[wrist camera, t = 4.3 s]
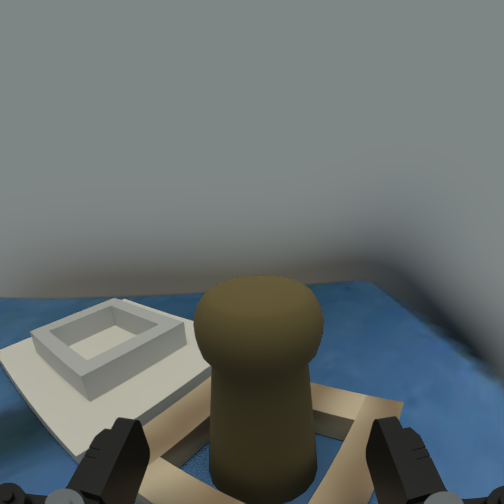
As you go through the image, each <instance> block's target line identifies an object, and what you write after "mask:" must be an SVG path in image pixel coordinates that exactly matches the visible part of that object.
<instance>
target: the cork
mask: <svg viewBox="0 0 504 504" xmlns="http://www.w3.org/2000/svg"><path fill="white" fill-rule="evenodd" d="M323 325H324V319H323V314H322V309H321V306H320V304H319V302H318V300H317V298H316V297H315V295H314V293H313V292H312V290H311V289H309V288H308V287H306V286H305V285H303V284H301V283H300V282H298V281H295V280H292V279H289V278H284V277H279V276H267V275H260V276H259V275H258V276H245V277H237V278H234V279H229V280H226V281H224V282H222V283H219V284H217V285H215V286H213V287H212V288H211V289H209V290H208V291H207V292H205V293H204V294H203V296H202V298H201V300H200V302H199V304H198V306H197V308H196V311H195V316H194V323H193V326H194V333H195V339H196V342H197V345H198V348H199V350H200V352H201V355H202V357H203V359H204V360H205V361H206V362H207V363H208V364H209V365H210V366H211V367H212V370H211V401H210V447H209V472H210V475H211V479H212V482H213V484H214V485H215V486H216V487H217V489H218V490H219V491H220V492H222V493H224V494H226V495H228V496H230V497H232V498H234V499H237V500H239V501H241V502H243V503H245V504H283V503H286V502H289V501H292V500H293V499H295V498H296V497H298V496H300V495H301V494H303V493H304V492H305V491H306V490H307V489H308V488H309V486H310V485H311V484H312V482H313V481H314V479H315V475H316V471H317V456H316V443H315V430H314V418H313V406H312V396H311V385H310V375H309V365H308V363H309V362H310V361H311V360H312V359H313V358H314V357H315V356H316V353H317V351H318V348H319V345H320V342H321V338H322V335H323Z"/></svg>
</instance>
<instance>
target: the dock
mask: <svg viewBox="0 0 504 504" xmlns="http://www.w3.org/2000/svg"><path fill="white" fill-rule="evenodd" d="M193 323H194V321H190V320H187V319H184V318H181V317H177V316H174V315H171V314H168V313H165V312H162V311H159V310H156V309H153V308H150V307H147V306H144V305H141V304H138V303H135V302H132V301H129V300H126V299H123V300H119V299H116V298H113V299H111V300H108V301H105V302H103V303H100V304H98V305H95V306H93V307H90V308H88V309H85V310H83V311H80V312H78V313H75V314H73V315H70V316H68V317H65V318H63V319H60V320H58V321H55V322H53V323H50V324H47V325H45V326H42V327H40V328H37V329H35V330H32V331H30V334H31V337H30V338H28V339H25V340H23V341H20V342H18V343H16V344H13V345H11V346H8V347H6V348H3V349H1V350H0V364H1V366H2V368H3V369H4V371H5V372H6V374H7V375H8V377H9V378H10V380H11V381H12V383H13V384H14V386H15V387H16V389H17V390H18V392H19V393H20V394H21V396H22V397H23V399H24V400H25V401H26V403H27V404H28V405H29V407H30V408H31V409H32V411H33V412H34V413H35V415H36V416H37V417H38V419H39V420H40V421H41V422H42V424H43V425H44V426H45V427H46V428H47V430H48V431H49V432H50V433H51V434H52V436H53V437H54V438H55V439H56V440H57V441H58V443H59V444H60V445H61V446H62V447H63V448H64V449H65V450H66V451H67V453H68V454H69V455H70V456H71V457H72V458H73V459H74V460H75V461H76V462H77V463H78V464H80V462H81V460H82V458H83V457H85V453H86V451H87V449H89V446H90V444H91V442H92V441H93V439H94V437H95V436H96V435H97V434H99V433H100V432H101V431H102V430H103V429H105V428H106V429H111V428H112V426H113V424H114V422H115V420H116V419H117V418H118V417H122V418H128V419H135V420H139V421H140V422H141V425H142V426H144V425H145V424H147V423H148V422H150V421H151V420H152V419H154V418H155V417H157V416H158V415H159V414H161V413H162V412H164V411H165V410H166V409H168V408H169V407H170V406H172V405H173V404H175V403H176V402H177V401H179V400H180V399H181V398H183V397H184V396H185V395H187V394H188V393H189V392H191V391H192V390H193V389H195V388H196V387H197V386H199V385H200V384H201V383H203V382H204V381H205V380H207V379H208V378H209V377H210V376H211V370H212V367H211V366H210V365H209V364H208V363H207V362H206V361H205V360H204V359H203V357H202V355H201V352H200V350H199V348H198V345H197V342H196V339H195V333H194V326H193Z"/></svg>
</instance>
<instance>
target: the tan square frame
mask: <svg viewBox="0 0 504 504" xmlns="http://www.w3.org/2000/svg"><path fill="white" fill-rule="evenodd" d="M310 385H311V396H312V406H313V418H314V430H315V433H317V434H321V435H324V436H328V437H331V438H335V439H339V440H343V441H344V442H343V444H342V446H341V448H340V450H339V452H338V454H337V455H336V457H335V459H334V461H333V463H332V464H331V466H330V468H329V470H328V472H327V473H326V475H325V477H324V478H323V480H322V482H321V483H320V485H319V487H318V488H317V490H316V492H315V493H314V495H313V497H312V498H311V500H310V501H309V503H308V504H368V502H369V500H370V497H371V495H372V493H373V490H374V486H373V483H372V479H371V476H370V473H369V469H368V466H367V462H366V445H367V442H368V439H369V435H370V431H371V428H372V424H373V421H374V420H375V419H380V418H386V417H392V416H396V417H397V418H398V420H399V417H400V414H401V410H402V407H403V403H404V402H399V401H394V400H388V399H383V398H378V397H373V396H368V395H363V394H359V393H354V392H350V391H345V390H341V389H337V388H332V387H328V386H324V385H320V384H316V383H312V382H310ZM210 401H211V376H210V377H209V378H208V379H207V380H205V381H204V382H203V383H201V384H200V385H199V386H197V387H196V388H195V389H193V390H192V391H191V392H189V393H188V394H187V395H185V396H184V397H183V398H181V399H180V400H179V401H177V402H176V403H175V404H173V405H172V406H170V407H169V408H168V409H166V410H165V411H164V412H162V413H161V414H159V415H158V416H157V417H155V418H154V419H152V420H151V421H150V422H148V423H147V424H145V425H144V426H142V428H143V431H144V433H145V436H146V439H147V442H148V445H149V448H150V460H149V464H148V466H147V469H146V472H145V475H144V478H143V480H142V483H141V486H140V489H139V492H138V494H137V497H136V500H135V501H136V502H137V503H138V504H245V503H243V502H241V501H239V500H237V499H234V498H232V497H230V496H228V495H226V494H224V493H222V492H220V491H218V490H216V489H214V488H213V487H211V486H209V485H207V484H205V483H203V482H201V481H200V480H198V479H196V478H194V477H192V476H191V475H189V474H187V473H185V472H184V471H182V470H180V469H179V468H180V467H181V466H182V465H183V464H185V463H186V462H187V461H188V460H189V459H190V458H191V457H193V456H194V455H195V454H196V453H197V452H198V451H199V450H200V449H201V448H203V447H204V446H205V445H206V444H207V443H208V442H209V441H210Z"/></svg>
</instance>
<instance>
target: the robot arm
mask: <svg viewBox="0 0 504 504" xmlns="http://www.w3.org/2000/svg"><path fill="white" fill-rule="evenodd" d="M149 460H150V448H149V445H148V442H147V439H146V436H145V433H144V431H143V428H142V425H141V422H140V421H139V420H135V419H128V418H122V417H118V418H117V419H116V420H115V422H114V424H113V426H112V428H111V429H106V428H105V429H103V430H102V431H101V432H100V433H99V434H97V435H96V436H95V437H94V439H93V441H92V442H91V444H90V446H89V449H87V451H86V453H85V457H83V458H82V460H81V462H80V464H79V466H78V467H77V469H76V471H75V473H74V475H73V476H72V478H71V480H70V482H69V484H68V485H67V487H66V488H65V489H58V490H55V491H53V492H51V493H50V494H49V495H48V496H42V495H32V494H26V493H25V492H24V491H23V490H22V489H21V487H19V486H18V485H16V484H14V483H4V484H1V485H0V504H134V503H135V500H136V497H137V494H138V492H139V489H140V486H141V483H142V480H143V478H144V475H145V472H146V469H147V466H148V464H149ZM366 462H367V466H368V469H369V473H370V476H371V479H372V483H373V486H374V490H375V493H376V497H377V500H378V504H504V486H501V487H498V488H496V489H495V490H493V491H492V492H491V493H490V495H489V496H488V497H483V498H474V499H461V498H460V497H459V496H458V495H456V494H454V493H452V492H448V491H447V490H446V488H445V486H444V484H443V482H442V480H441V478H440V476H439V474H438V471H437V469H436V467H435V465H434V463H433V461H432V459H431V457H430V455H429V453H428V451H427V449H425V445H424V443H423V441H422V439H421V437H420V435H419V434H417V433H416V432H415V431H414V430H413V429H411V428H410V427H409V428H404V429H403V428H402V426H401V424H400V422H399V420H398V418H397V417H396V416H392V417H386V418H380V419H375V420H374V421H373V424H372V428H371V431H370V435H369V439H368V442H367V445H366Z"/></svg>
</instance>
